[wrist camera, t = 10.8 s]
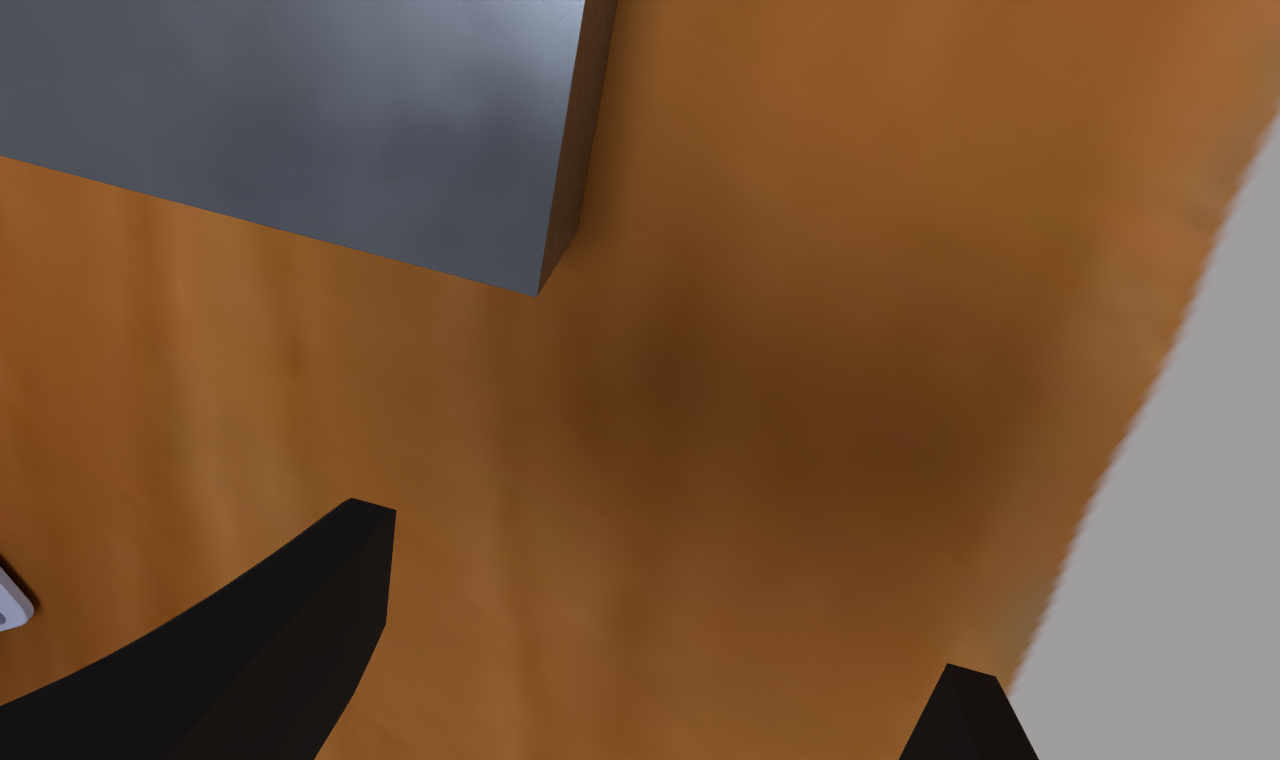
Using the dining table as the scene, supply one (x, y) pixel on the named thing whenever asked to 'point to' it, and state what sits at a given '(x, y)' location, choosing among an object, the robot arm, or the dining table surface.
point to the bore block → (326, 116)
